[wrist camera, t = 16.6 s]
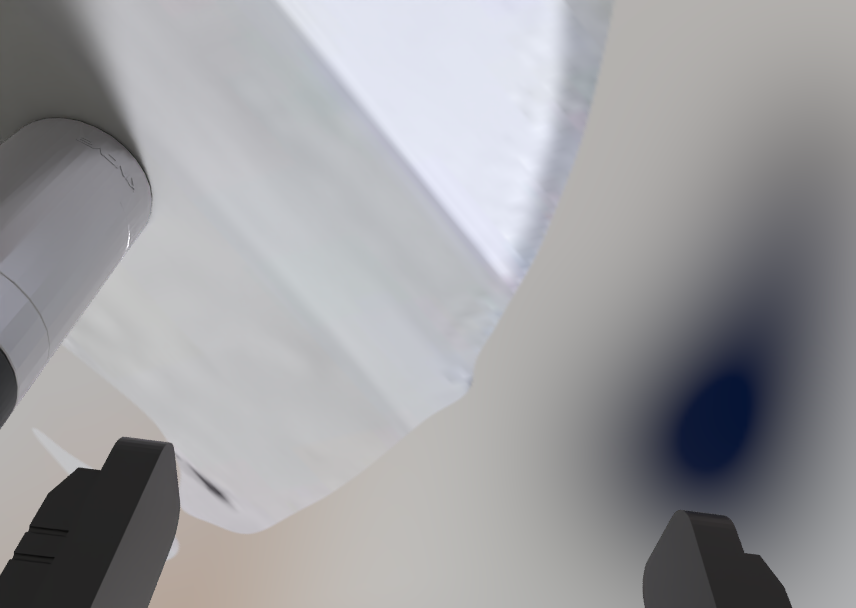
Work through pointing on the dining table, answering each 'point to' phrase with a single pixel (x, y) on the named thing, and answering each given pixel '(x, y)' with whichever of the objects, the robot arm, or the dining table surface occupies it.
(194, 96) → the dining table surface
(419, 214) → the dining table surface
